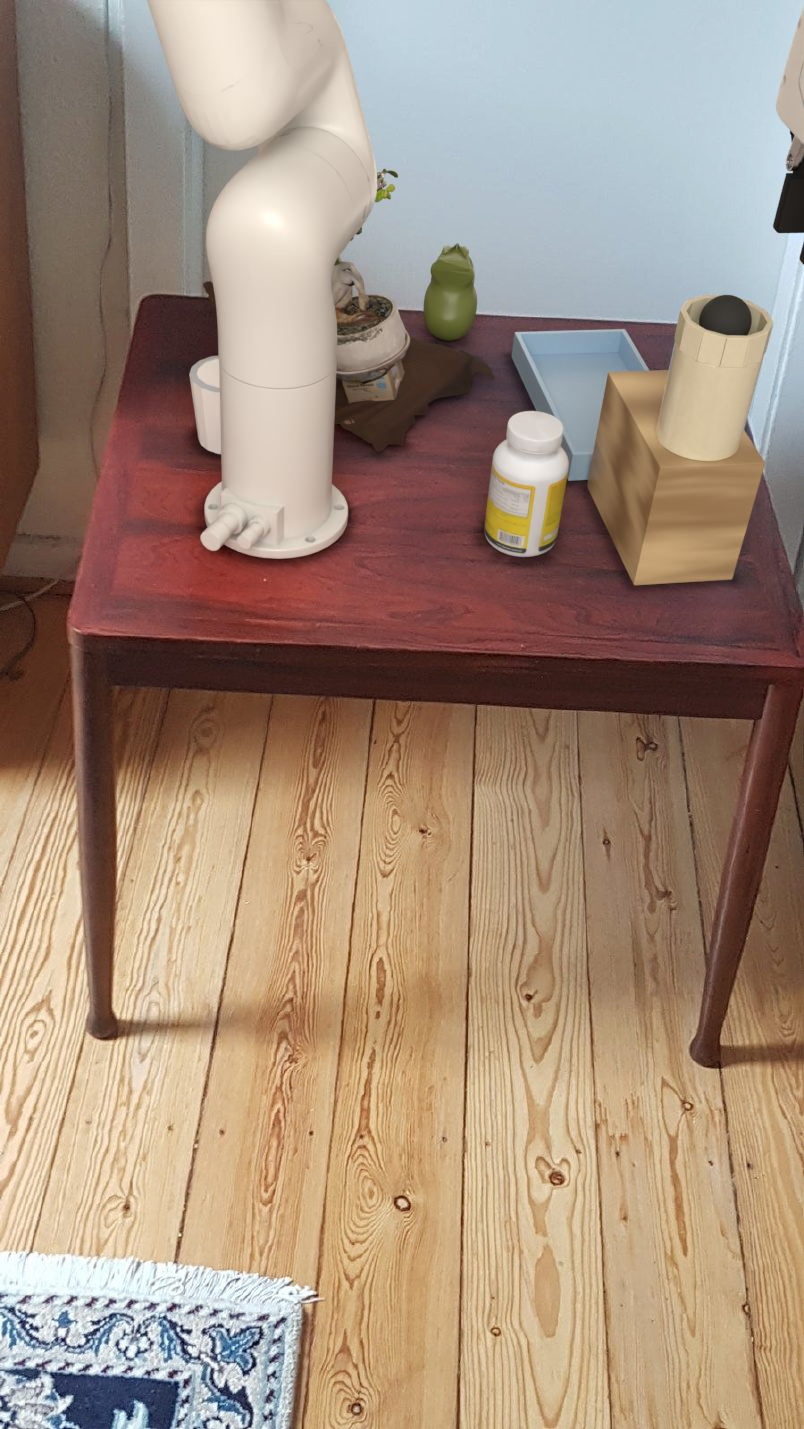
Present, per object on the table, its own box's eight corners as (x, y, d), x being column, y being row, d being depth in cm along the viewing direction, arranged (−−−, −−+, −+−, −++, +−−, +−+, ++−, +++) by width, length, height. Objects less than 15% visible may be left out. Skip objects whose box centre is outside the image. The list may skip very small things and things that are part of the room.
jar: (727, 470, 115) (759, 347, 108) (644, 446, 117) (670, 322, 109) (749, 430, 120) (781, 309, 112) (669, 407, 122) (696, 286, 114)
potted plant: (392, 484, 136) (318, 238, 119) (248, 453, 146) (162, 224, 130) (504, 372, 146) (450, 131, 129) (361, 351, 156) (295, 125, 140)
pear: (475, 329, 154) (486, 240, 147) (469, 352, 150) (479, 263, 144) (424, 321, 155) (432, 233, 148) (417, 345, 151) (424, 255, 144)
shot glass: (231, 467, 132) (229, 400, 127) (176, 439, 135) (173, 373, 130) (279, 437, 136) (280, 372, 131) (226, 411, 139) (224, 345, 134)
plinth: (732, 579, 125) (765, 462, 116) (633, 585, 123) (660, 467, 115) (678, 482, 135) (705, 368, 127) (586, 486, 134) (607, 371, 125)
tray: (689, 475, 136) (696, 449, 134) (568, 481, 134) (572, 454, 132) (620, 353, 152) (625, 328, 150) (511, 357, 150) (514, 331, 148)
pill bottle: (556, 521, 129) (575, 409, 121) (555, 564, 124) (575, 450, 116) (484, 513, 129) (499, 400, 121) (480, 556, 125) (495, 441, 117)
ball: (738, 362, 111) (749, 314, 108) (688, 349, 112) (698, 301, 109) (750, 341, 113) (762, 293, 111) (702, 328, 115) (712, 281, 112)
